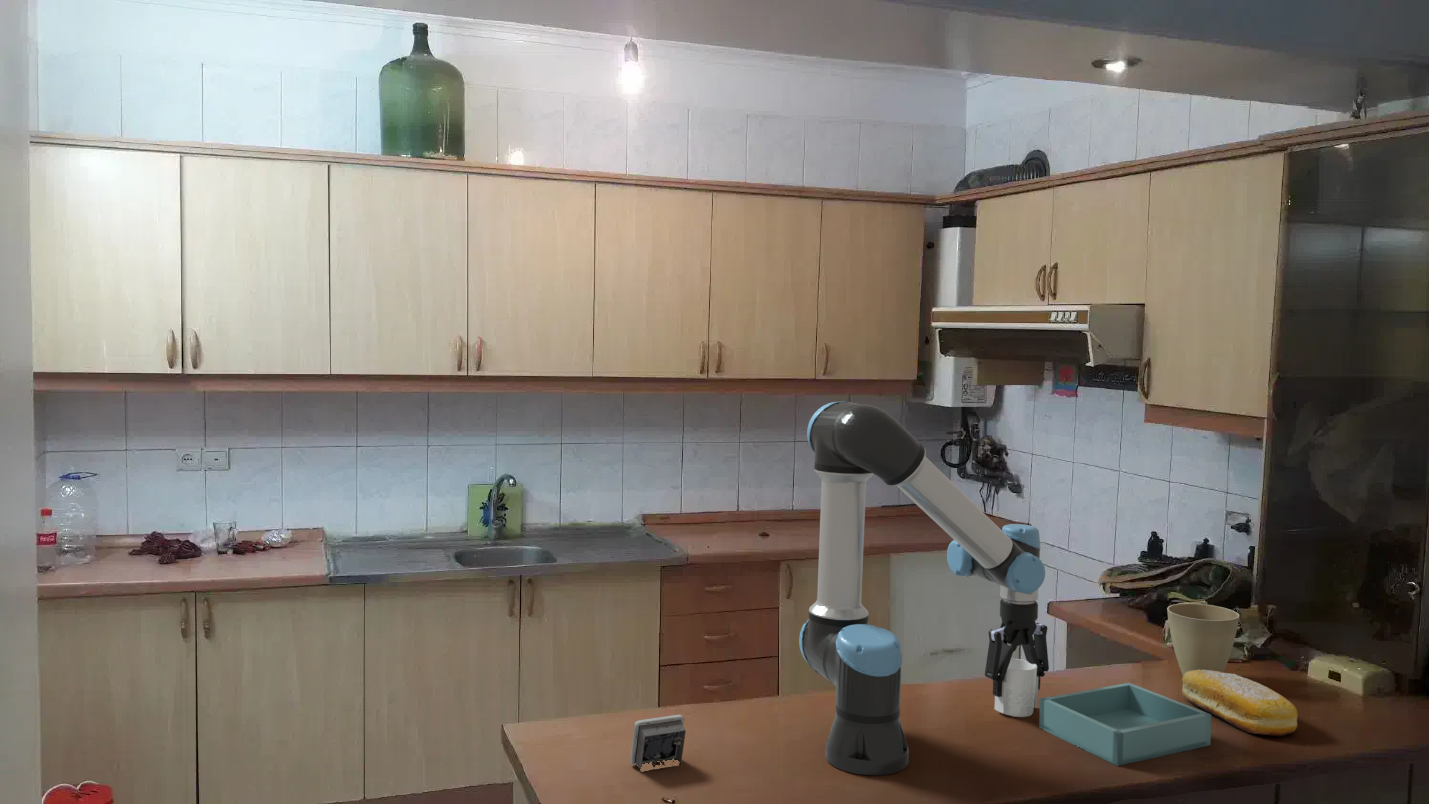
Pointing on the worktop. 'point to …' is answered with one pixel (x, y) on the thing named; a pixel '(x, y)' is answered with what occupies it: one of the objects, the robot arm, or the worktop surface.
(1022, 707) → the white cup
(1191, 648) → the plant pot
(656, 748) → the electrical switch
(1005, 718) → the worktop surface
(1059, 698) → the walled box
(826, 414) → the robot arm
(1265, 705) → the bread
